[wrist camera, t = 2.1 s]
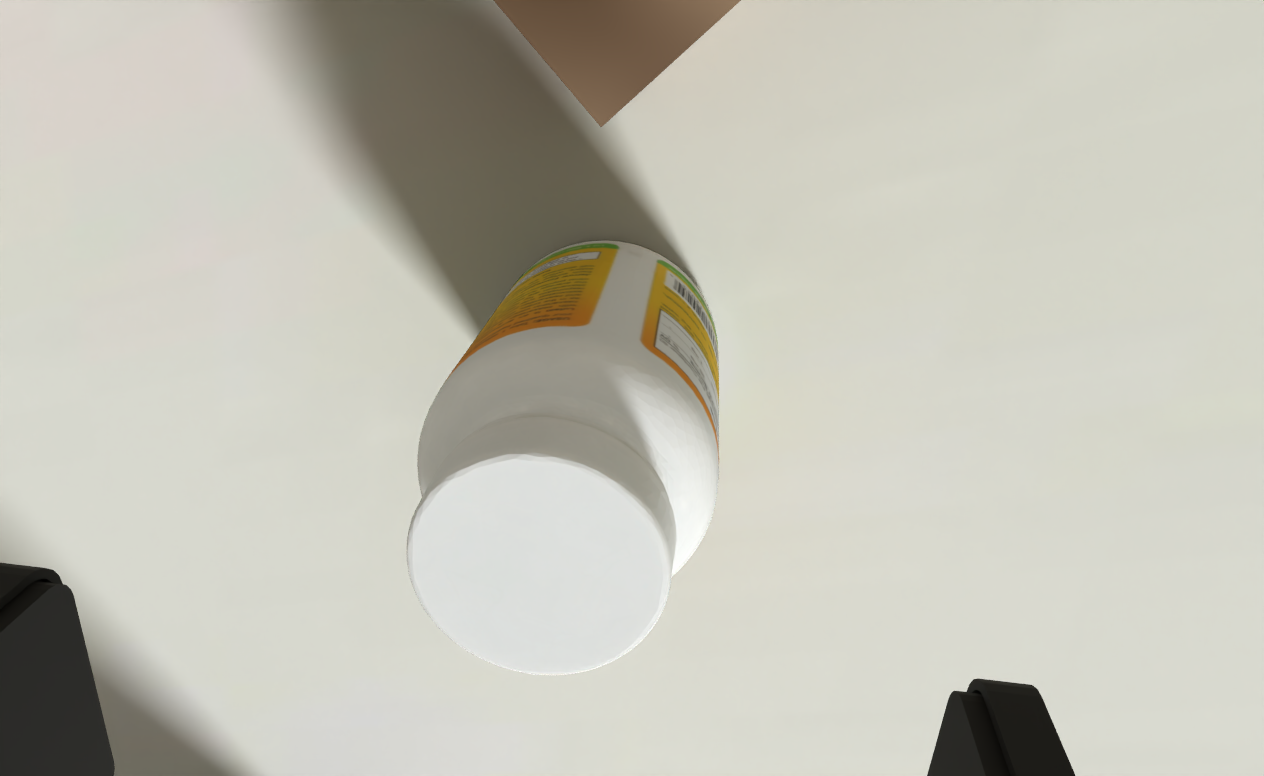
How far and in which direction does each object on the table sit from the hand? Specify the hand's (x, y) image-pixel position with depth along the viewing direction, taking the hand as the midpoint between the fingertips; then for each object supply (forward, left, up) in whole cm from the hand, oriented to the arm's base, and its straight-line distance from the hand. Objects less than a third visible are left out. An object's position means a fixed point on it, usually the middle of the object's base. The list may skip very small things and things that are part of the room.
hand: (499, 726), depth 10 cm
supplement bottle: (-1, 0, -14) cm, 14 cm away
